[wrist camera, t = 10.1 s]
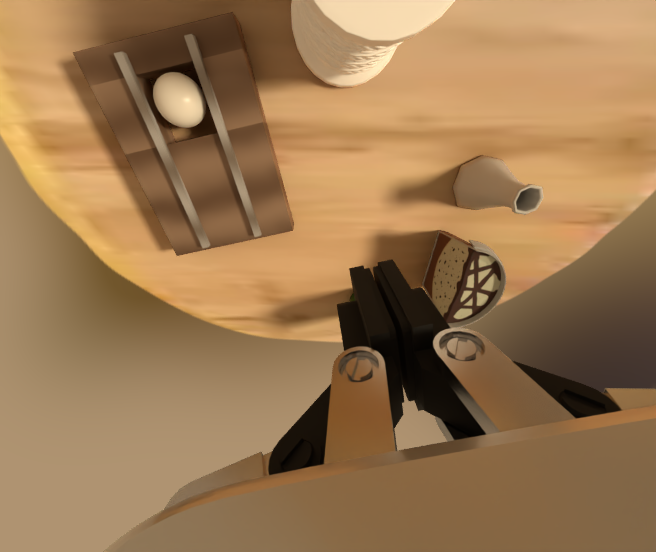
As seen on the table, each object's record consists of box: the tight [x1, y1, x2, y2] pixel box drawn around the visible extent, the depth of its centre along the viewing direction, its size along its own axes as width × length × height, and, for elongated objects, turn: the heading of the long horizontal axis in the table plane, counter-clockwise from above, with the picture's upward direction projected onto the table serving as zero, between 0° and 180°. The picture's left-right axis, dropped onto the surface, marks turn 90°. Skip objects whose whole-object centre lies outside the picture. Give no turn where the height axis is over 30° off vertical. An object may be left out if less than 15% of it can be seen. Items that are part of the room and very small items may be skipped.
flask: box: [453, 155, 543, 215], centre depth 34 cm, size 7×7×10 cm
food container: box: [422, 230, 506, 328], centre depth 39 cm, size 12×6×10 cm, turn 174°
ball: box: [153, 72, 206, 128], centre depth 30 cm, size 5×5×5 cm
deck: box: [73, 12, 294, 256], centre depth 33 cm, size 22×16×4 cm
